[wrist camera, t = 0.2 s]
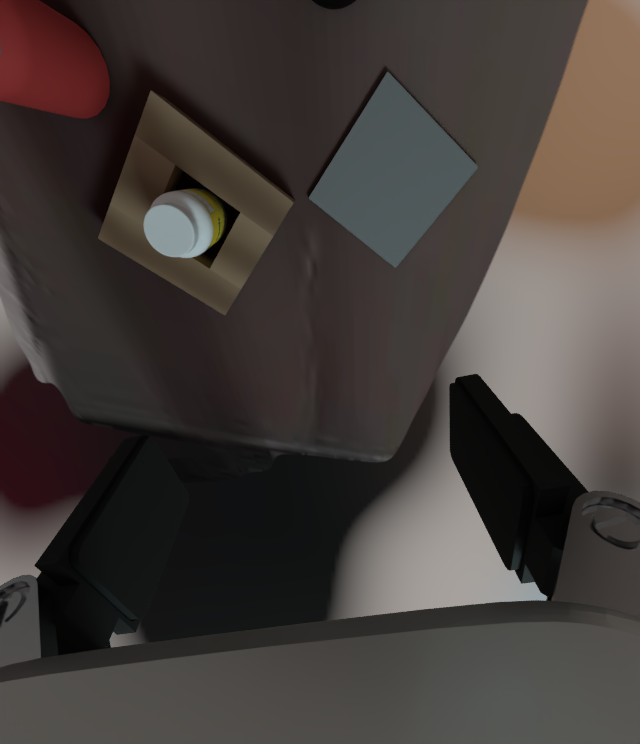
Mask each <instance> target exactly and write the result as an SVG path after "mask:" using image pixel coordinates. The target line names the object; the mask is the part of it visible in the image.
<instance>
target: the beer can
mask: <svg viewBox="0 0 640 744" xmlns="http://www.w3.org/2000/svg"><path fill="white" fill-rule="evenodd" d="M109 94H110V79H109V74H108V69H107V65H106V63H105V61H104V58H103V56H102V54H101V52H100V50H99V48H98V47H97V45H96V44H95V43H94V41H93V40H92V38H91V37H90V36H89V34H87V33H86V32H85V31H84V30H83V29H82V28H81V27H79V26H78V25H77V24H76V23H74V22H73V21H71V20H70V19H68V18H66V17H65V16H63V15H62V14H60V13H59V12H57V11H55V10H54V9H52V8H51V7H49V6H47V5H46V4H44V3H43V2H41V1H39V0H0V101H3V102H8V103H12V104H17V105H21V106H25V107H30V108H34V109H39V110H43V111H47V112H52V113H56V114H61V115H65V116H69V117H74V118H85V119H88V118H90V117H93V116H96V115H98V114H99V113H100V112H101V111H102V109H103V108H104V107H105V106H106V103H107V100H108V98H109Z"/></svg>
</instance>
